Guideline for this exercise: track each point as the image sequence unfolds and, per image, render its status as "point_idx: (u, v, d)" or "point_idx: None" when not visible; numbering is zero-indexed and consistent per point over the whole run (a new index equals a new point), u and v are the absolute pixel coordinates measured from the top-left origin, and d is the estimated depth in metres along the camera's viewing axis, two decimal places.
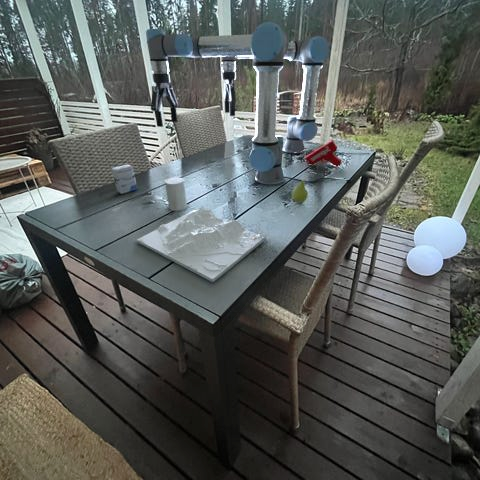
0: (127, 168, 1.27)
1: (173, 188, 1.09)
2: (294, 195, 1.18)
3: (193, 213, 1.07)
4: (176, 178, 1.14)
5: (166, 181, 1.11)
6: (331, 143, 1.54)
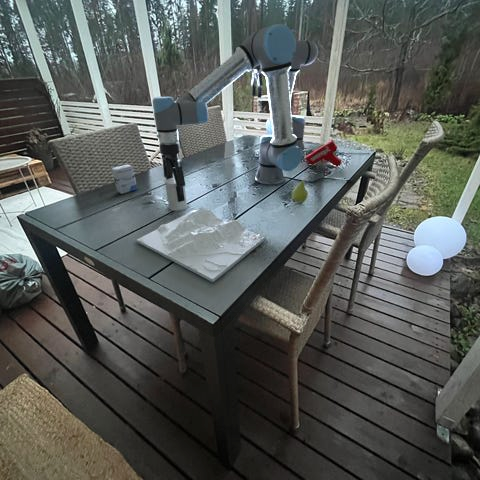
0: (127, 168, 1.27)
1: (173, 188, 1.09)
2: (294, 195, 1.18)
3: (193, 213, 1.07)
4: None
5: (166, 181, 1.11)
6: (331, 143, 1.54)
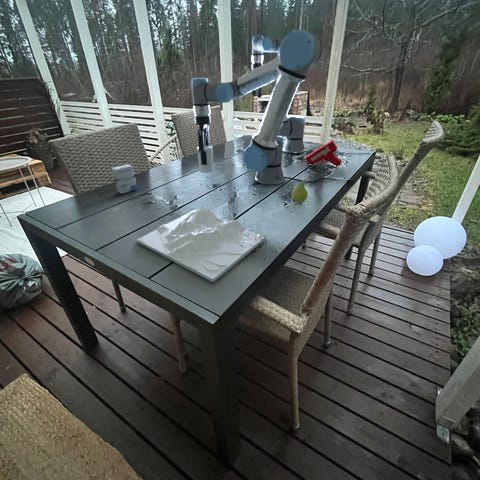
0: (127, 168, 1.27)
1: (199, 152, 1.37)
2: (294, 195, 1.18)
3: (193, 213, 1.07)
4: (208, 146, 1.40)
5: None
6: (331, 143, 1.54)
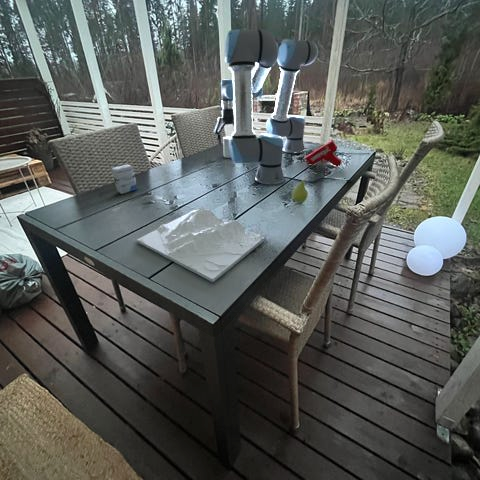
0: (127, 168, 1.27)
1: None
2: (294, 195, 1.18)
3: (193, 213, 1.07)
4: None
5: None
6: (331, 143, 1.54)
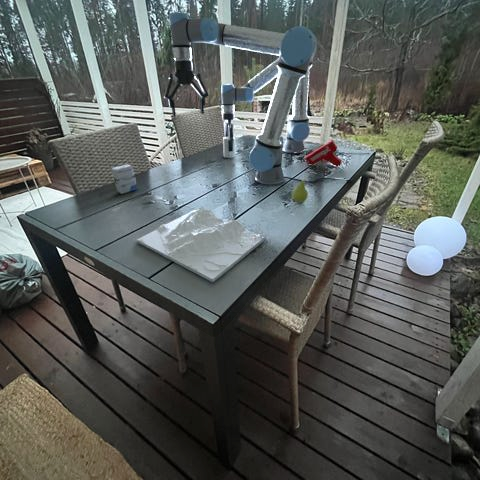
0: (127, 168, 1.27)
1: None
2: (294, 195, 1.18)
3: (193, 213, 1.07)
4: None
5: None
6: (331, 143, 1.54)
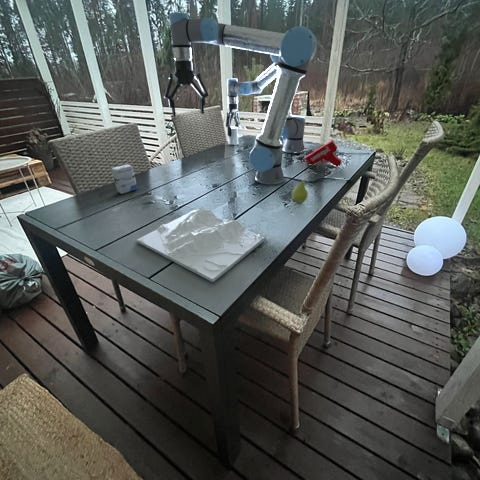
0: (127, 168, 1.27)
1: None
2: (294, 195, 1.18)
3: (193, 213, 1.07)
4: (234, 128, 2.05)
5: None
6: (331, 143, 1.54)
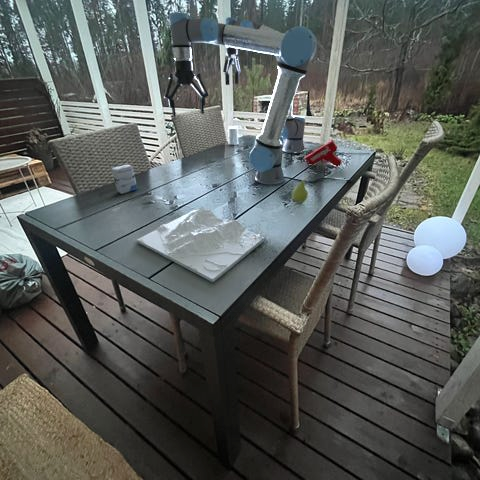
0: (127, 168, 1.27)
1: None
2: (294, 195, 1.18)
3: (193, 213, 1.07)
4: (234, 128, 2.05)
5: None
6: (331, 143, 1.54)
